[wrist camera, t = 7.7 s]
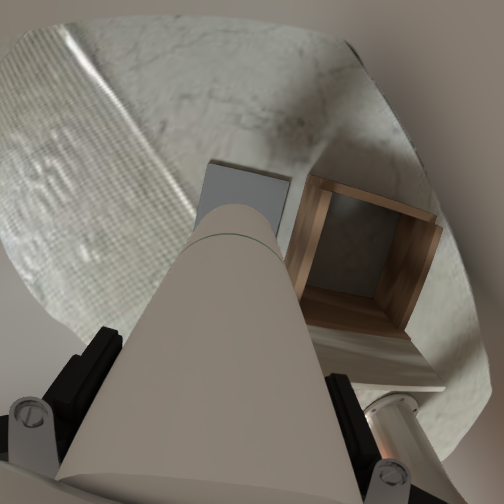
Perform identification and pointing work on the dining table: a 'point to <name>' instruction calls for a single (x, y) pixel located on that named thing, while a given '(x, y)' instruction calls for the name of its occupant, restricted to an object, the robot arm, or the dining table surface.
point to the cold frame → (363, 308)
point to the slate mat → (242, 192)
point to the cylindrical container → (216, 387)
